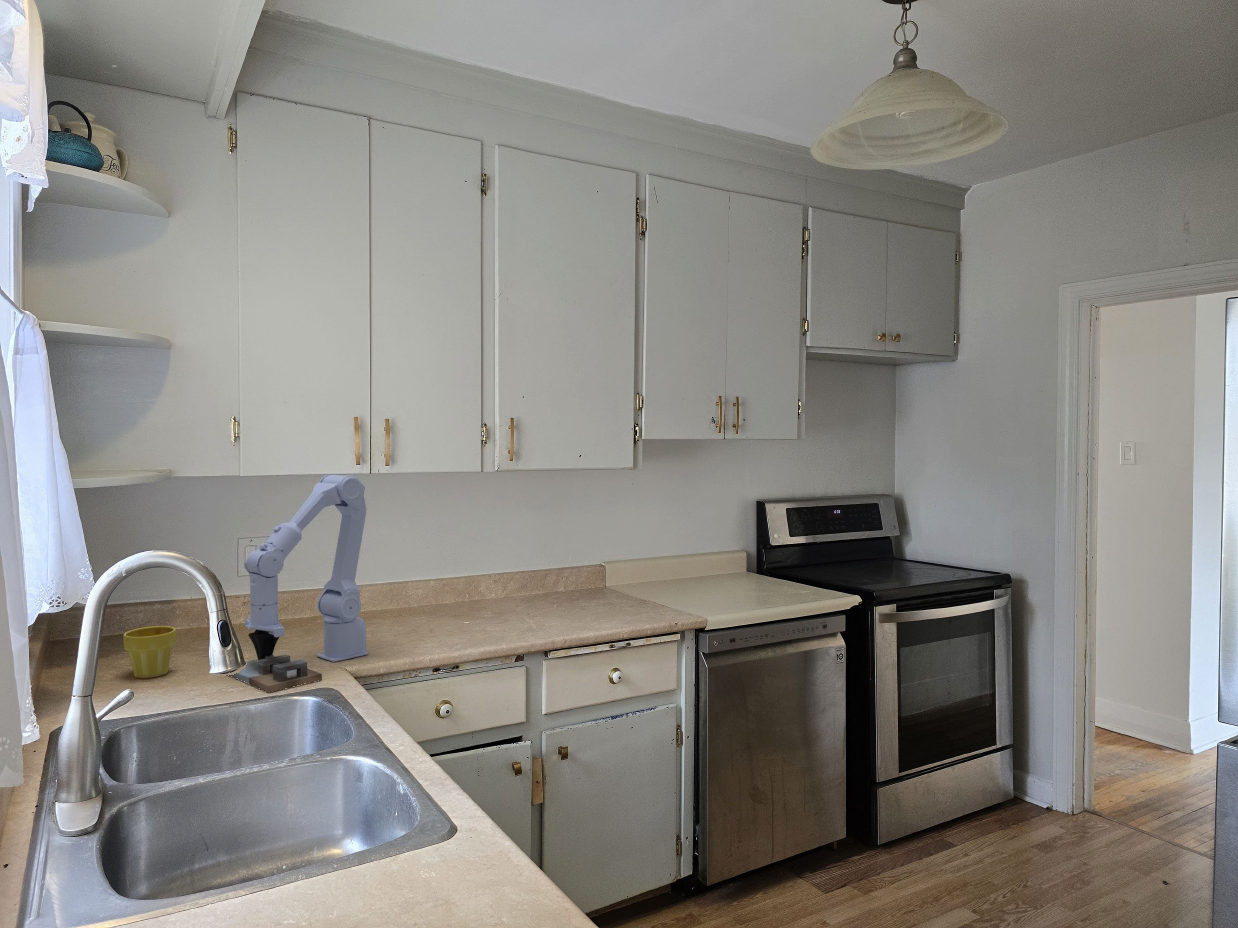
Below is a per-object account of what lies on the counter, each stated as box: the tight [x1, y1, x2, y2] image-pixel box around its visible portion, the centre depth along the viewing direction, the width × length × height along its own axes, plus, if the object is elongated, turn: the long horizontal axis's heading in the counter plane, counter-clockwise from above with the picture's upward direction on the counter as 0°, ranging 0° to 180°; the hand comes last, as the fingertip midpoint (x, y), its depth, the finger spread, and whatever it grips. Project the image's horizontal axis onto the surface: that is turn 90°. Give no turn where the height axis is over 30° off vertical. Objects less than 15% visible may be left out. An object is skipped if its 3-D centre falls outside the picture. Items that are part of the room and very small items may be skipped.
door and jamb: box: [229, 654, 323, 694], centre depth 185 cm, size 12×22×4 cm, turn 49°
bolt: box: [265, 654, 297, 679], centre depth 182 cm, size 2×11×3 cm, turn 49°
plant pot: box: [122, 625, 177, 679], centre depth 186 cm, size 10×10×10 cm
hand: (264, 663), depth 187 cm, fingers closed
